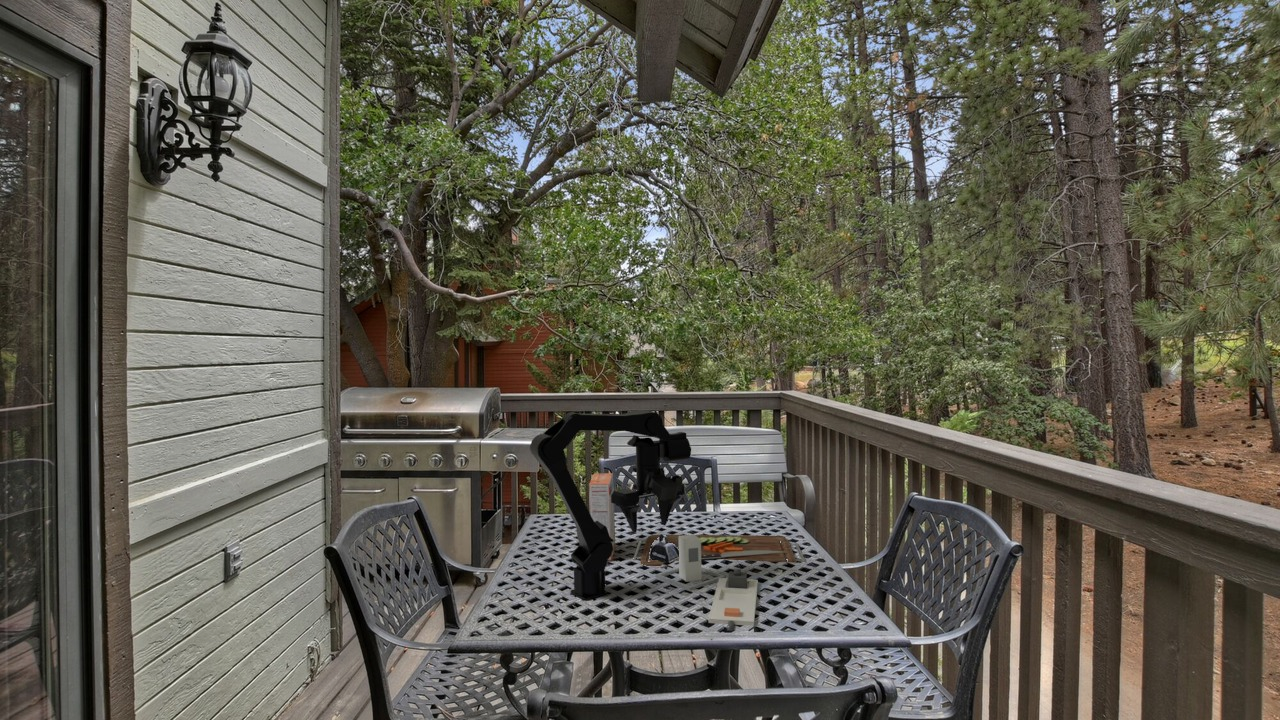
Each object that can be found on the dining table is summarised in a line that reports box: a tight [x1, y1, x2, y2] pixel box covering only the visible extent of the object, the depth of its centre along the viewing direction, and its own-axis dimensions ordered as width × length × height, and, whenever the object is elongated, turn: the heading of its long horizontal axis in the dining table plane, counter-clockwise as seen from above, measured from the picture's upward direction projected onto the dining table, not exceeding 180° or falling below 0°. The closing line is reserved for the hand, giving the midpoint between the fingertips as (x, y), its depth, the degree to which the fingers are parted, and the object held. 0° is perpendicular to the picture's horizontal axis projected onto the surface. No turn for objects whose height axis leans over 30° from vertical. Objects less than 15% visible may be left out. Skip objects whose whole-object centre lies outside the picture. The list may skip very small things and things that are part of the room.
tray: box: [654, 566, 727, 591], centre depth 162 cm, size 12×12×1 cm
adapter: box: [678, 533, 703, 583], centre depth 162 cm, size 4×5×10 cm
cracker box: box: [588, 472, 616, 562], centre depth 184 cm, size 14×6×21 cm, turn 178°
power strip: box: [708, 577, 759, 632], centre depth 145 cm, size 27×9×2 cm, turn 168°
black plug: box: [727, 568, 748, 589], centre depth 155 cm, size 4×4×4 cm
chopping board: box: [632, 533, 807, 567], centre depth 184 cm, size 45×27×3 cm, turn 84°
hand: (649, 528), depth 161 cm, fingers open, 9 cm apart
